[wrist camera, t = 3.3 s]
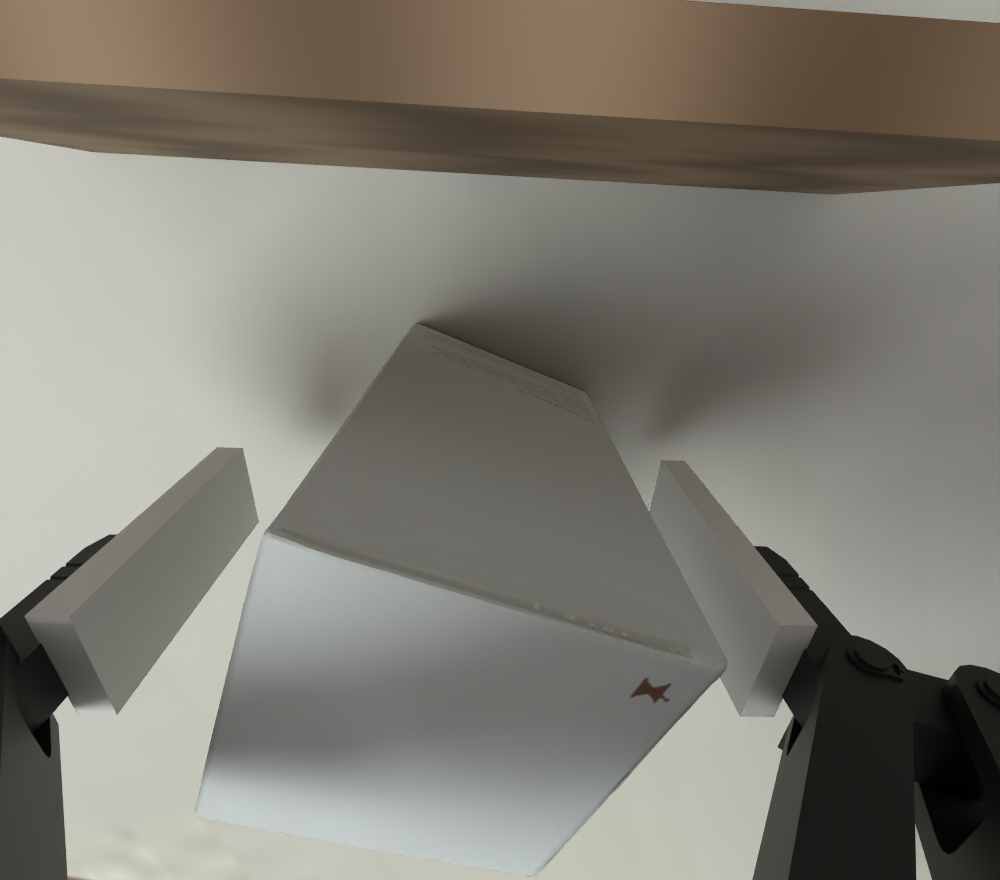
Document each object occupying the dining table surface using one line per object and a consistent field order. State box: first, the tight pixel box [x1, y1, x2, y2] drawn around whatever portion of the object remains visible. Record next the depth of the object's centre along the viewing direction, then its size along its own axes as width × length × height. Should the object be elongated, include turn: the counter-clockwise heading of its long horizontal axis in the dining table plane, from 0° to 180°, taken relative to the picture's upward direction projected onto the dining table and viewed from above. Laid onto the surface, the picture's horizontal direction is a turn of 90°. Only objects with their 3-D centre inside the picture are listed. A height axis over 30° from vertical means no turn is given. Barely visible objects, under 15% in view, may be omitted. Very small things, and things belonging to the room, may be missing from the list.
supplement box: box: [195, 324, 727, 876], centre depth 13 cm, size 7×7×13 cm
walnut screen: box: [0, 0, 1000, 194], centre depth 10 cm, size 24×1×10 cm, turn 87°
